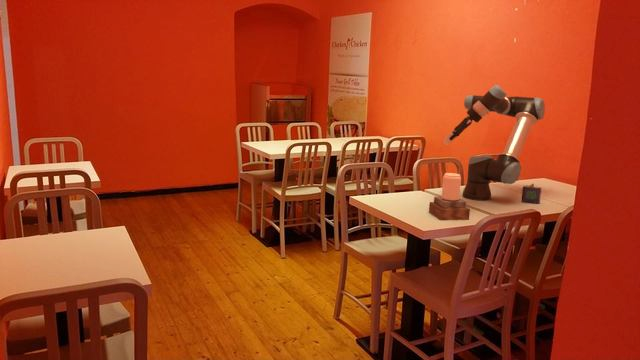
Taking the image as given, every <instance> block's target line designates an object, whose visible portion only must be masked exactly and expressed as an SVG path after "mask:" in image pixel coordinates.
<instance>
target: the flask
mask: <svg viewBox="0 0 640 360" xmlns="http://www.w3.org/2000/svg"><path fill="white" fill-rule="evenodd" d="M541 194H542V187H540V186H535V183H533V182H532V183H531V184H530V185H529V184H526V185H523V186H522V194H521V203H522V204H532V205H533V204H534V205H540V202H541Z"/></svg>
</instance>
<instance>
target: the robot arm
mask: <svg viewBox="0 0 640 360" xmlns="http://www.w3.org/2000/svg"><path fill="white" fill-rule="evenodd" d="M463 106H464V108H465V109H466V114H467V116H466V117H464V119H463V120H461V122H459V123H458V125H457V126H455V127H454V129H452V130H451V131H450V132H449V133H448V134H447V135H446V136H445V137H444V140H443V141H442V143H443V144H444V145H445V146H447V147H448V146H449V145H450V144H451V143H452V142H453V141H454V140H455V139H456V138H457V137H459V136H460V134H462V133H463V132H464V131H465V130H466V129H467V128H468V127H469V126H470V125H472V123H473V121H474V122H475V123H479V122H480V121H481V120H482V119H483V117H486V115H489V112H493V113H496V114H499V115H501V116H502V115H503V116H508V117H511V118H515V120H516V121H515V123H514V126H513V128H512V130H511V133H510V135H509V138H508V140H507V142H506V144H505V147H504V149H503V151H502V153H500V154H498V156H497V158H496V159H494V158H493V156H492V155H473V156H470V157H469V159H468V160H469V161H468V163H467V164H468V166H467V167H468V169H467V177H466V178H467V179H466V183H465V186H464V188H463V190H462V197H463V198H465V199H469V200H474V201H489V200H491V199H492V192H491V188H490V182H495V183H501V184H505V185H506V184H507V185H508V184H509V185H512V184H515V183H516V182H517V181H518V180H519V177H520V176H521V171H522V165H521V162H520V160H519V158H520V156H521V153H522V151H523V149H524V147H525V144H526V141H527V139H528V137H529V135H530V133H531V132H530V131H531V129H532V127H533V126H534V125H536V124H537V123H538V120H543V119H544V116H545V113H546V112H545V111H546V107H545V101H544V99H543V98H541V97H536V96H535V97H530V96H529V97H527V96H517V95H516V96H515V95H514V96H507V92H506V91H504V90H503V89H502V88H501V86H499V85H498V84H495V85H493V86H492V87H491V88H490V89H489V90H488V91H487V92H486V93H484V95H476V94H475V95H474V94H472V95H471V94H470V95H467V96H465V98H464V101H463Z"/></svg>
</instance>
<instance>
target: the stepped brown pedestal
mask: <svg viewBox="0 0 640 360" xmlns="http://www.w3.org/2000/svg"><path fill="white" fill-rule="evenodd" d="M433 197H434V198H433V201H429V205H428V207H429V208H428V213H429V214H431V215H433V216H434V217H436V218H437V219H439V220H440V221H454V220H455V221H459V220H464V221H465V220H470V216H471V215H470V213H471V208H469V207H467V201H465V200H463V199H461V198H459V200H457V201H447V200H444V199H443V198H442V196H433Z"/></svg>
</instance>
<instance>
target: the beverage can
mask: <svg viewBox="0 0 640 360" xmlns="http://www.w3.org/2000/svg"><path fill="white" fill-rule="evenodd" d="M442 177H443V178H442V188H441V189H442V190H441V197H442V198H443V199H444V200H447V201H457V200H459V199H460V196H461V195H460V194H461V183H462V177H461V174H460V173H456V172H454V173H452V172H445V173H444V175H443V176H442Z"/></svg>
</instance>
